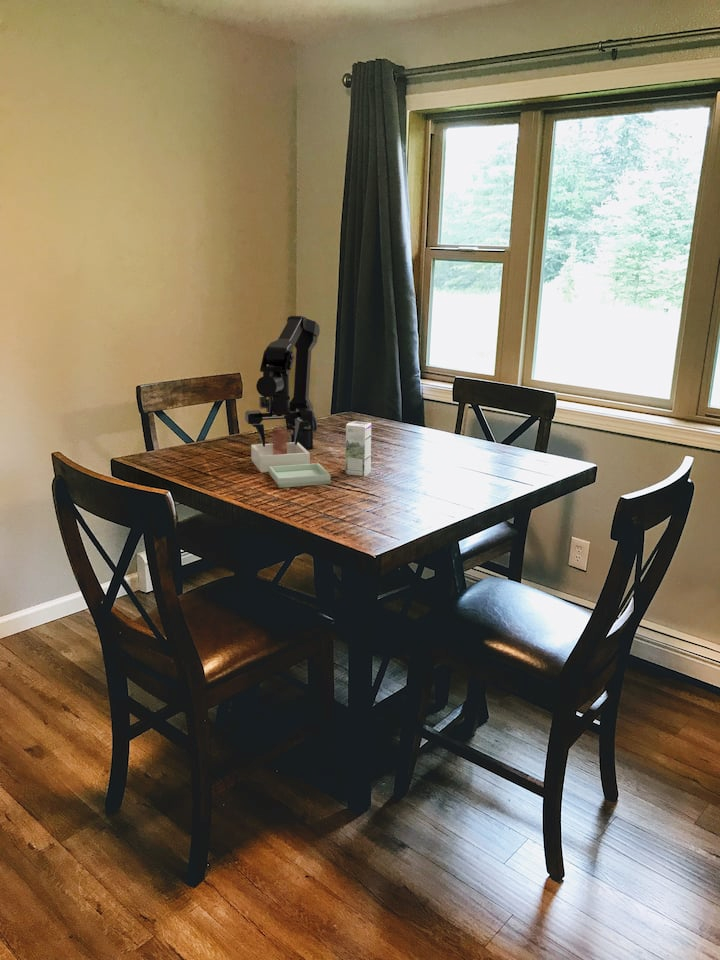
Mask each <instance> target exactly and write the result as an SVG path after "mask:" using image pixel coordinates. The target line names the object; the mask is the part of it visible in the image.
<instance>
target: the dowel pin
mask: <svg viewBox="0 0 720 960" xmlns="http://www.w3.org/2000/svg"><path fill="white" fill-rule="evenodd" d="M287 432H288V430H287V428H274V429H272V444H273V455H278V454H287V443H288V440H287V439H288V433H287Z"/></svg>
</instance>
